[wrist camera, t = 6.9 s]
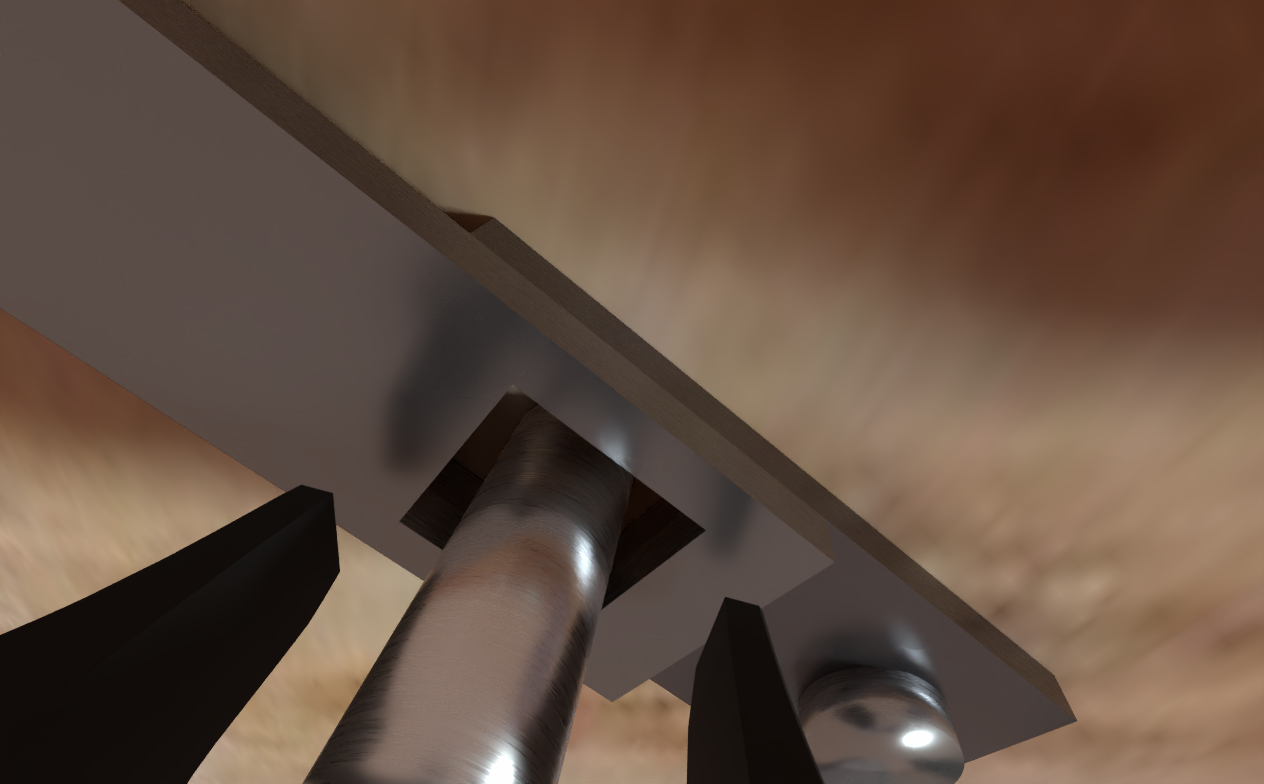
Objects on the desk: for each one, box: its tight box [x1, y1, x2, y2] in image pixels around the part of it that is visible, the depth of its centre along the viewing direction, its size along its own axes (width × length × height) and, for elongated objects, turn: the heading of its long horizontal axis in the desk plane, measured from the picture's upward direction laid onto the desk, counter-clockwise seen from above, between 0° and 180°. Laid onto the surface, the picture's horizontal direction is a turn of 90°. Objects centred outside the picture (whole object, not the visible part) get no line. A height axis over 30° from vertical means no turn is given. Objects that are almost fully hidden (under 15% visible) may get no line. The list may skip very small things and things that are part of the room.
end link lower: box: [427, 218, 1077, 784], centre depth 14 cm, size 18×7×2 cm, turn 51°
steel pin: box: [302, 405, 634, 784], centre depth 11 cm, size 3×3×8 cm
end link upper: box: [0, 0, 835, 702], centre depth 12 cm, size 18×7×2 cm, turn 51°
